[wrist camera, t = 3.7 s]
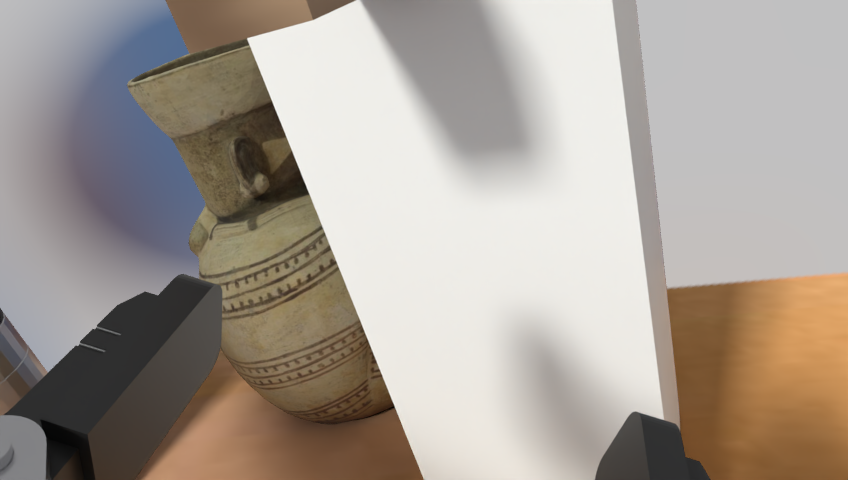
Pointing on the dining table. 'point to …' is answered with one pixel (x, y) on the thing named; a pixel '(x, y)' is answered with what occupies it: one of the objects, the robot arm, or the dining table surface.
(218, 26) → the wooden handled hammer
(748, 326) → the dining table surface
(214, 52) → the ceramic vessel
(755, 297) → the dining table surface
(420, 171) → the post
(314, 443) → the dining table surface
